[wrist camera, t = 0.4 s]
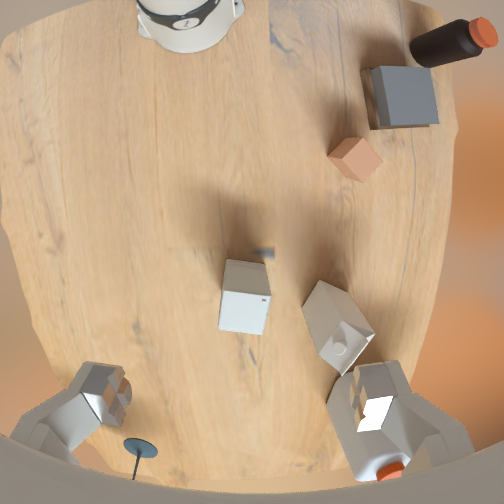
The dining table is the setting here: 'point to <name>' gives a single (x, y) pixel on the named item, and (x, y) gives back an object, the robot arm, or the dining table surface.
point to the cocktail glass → (140, 450)
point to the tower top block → (404, 95)
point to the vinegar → (453, 42)
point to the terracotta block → (355, 158)
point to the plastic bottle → (362, 439)
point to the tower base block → (372, 104)
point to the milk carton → (336, 326)
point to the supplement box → (244, 297)
